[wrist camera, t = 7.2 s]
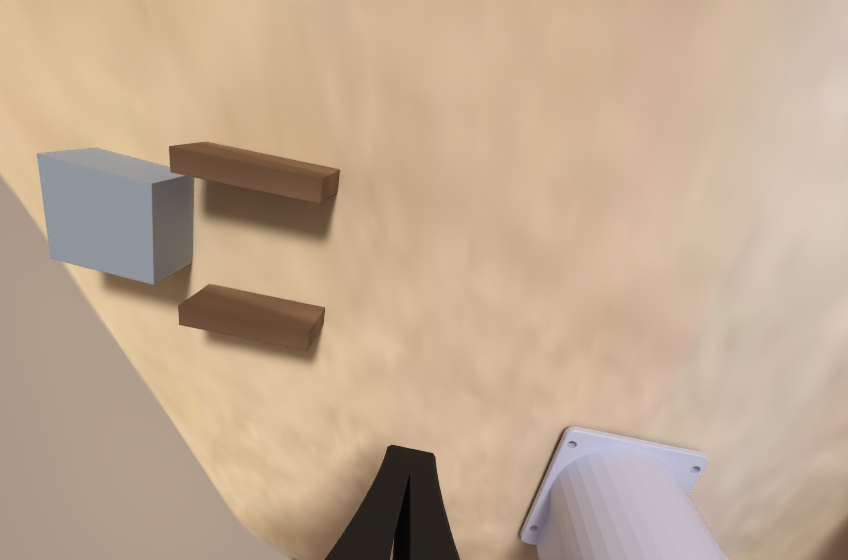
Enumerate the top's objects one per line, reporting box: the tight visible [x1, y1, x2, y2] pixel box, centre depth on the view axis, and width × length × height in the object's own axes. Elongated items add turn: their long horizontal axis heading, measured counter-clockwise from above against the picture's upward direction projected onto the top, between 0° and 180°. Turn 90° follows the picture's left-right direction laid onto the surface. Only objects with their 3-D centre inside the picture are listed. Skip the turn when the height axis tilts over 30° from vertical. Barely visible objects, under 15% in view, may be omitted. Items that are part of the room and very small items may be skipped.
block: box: [37, 148, 194, 285], centre depth 18 cm, size 4×4×3 cm
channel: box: [169, 142, 340, 351], centre depth 18 cm, size 8×6×2 cm
